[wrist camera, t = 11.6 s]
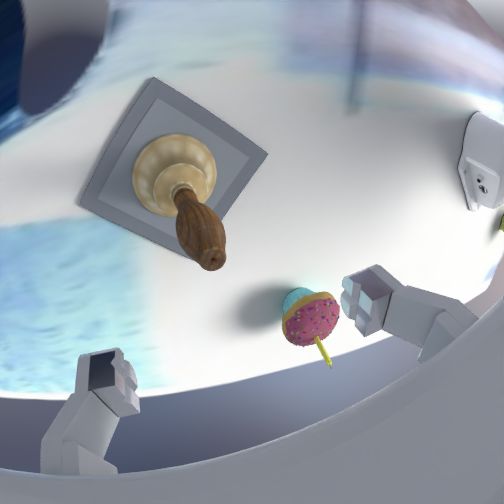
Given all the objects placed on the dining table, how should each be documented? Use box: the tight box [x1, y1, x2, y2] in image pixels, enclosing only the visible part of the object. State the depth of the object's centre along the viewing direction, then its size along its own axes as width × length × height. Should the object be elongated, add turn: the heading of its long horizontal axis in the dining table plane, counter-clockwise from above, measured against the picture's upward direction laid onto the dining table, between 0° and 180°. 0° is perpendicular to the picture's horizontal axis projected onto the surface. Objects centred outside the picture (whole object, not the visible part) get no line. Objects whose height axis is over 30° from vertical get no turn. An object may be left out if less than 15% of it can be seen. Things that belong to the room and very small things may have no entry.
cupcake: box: [282, 288, 340, 370], centre depth 36 cm, size 9×8×12 cm
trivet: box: [79, 77, 268, 260], centre depth 26 cm, size 14×14×1 cm
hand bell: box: [132, 134, 226, 271], centre depth 19 cm, size 8×8×16 cm
